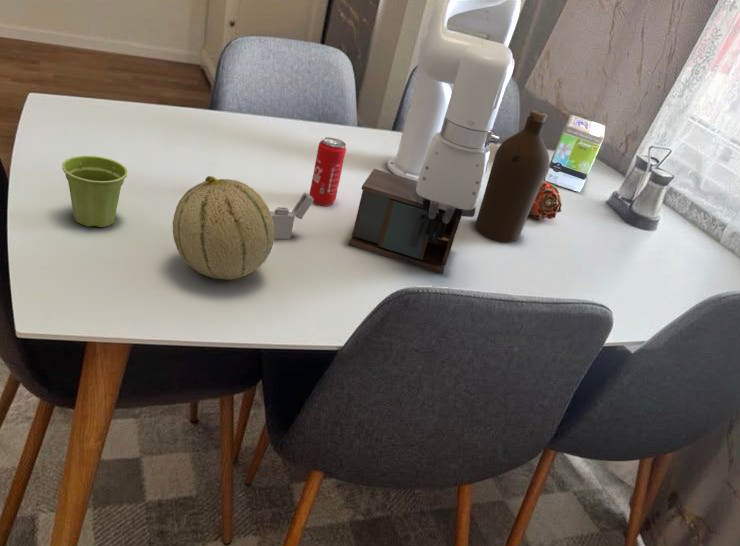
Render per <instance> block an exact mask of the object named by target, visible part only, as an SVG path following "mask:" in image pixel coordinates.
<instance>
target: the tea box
mask: <svg viewBox="0 0 740 546" xmlns="http://www.w3.org/2000/svg"><path fill="white" fill-rule="evenodd" d="M605 131H606V125H604V124H601V123H598V122H595V121H592V120H589V119H586V118H583V117H581V116H577V115H573V114H569V116H568V118H567V120H566V123H565V125H564V127H563V129H562V132H561V134H560V137H559V140H558V142H557V145H556V147H555V149H554V152H553V154H552V157H551V160H550V161H549V167H548V171H547V173H546V175H545V178H544V181H546V182H549V183H550V184H552V185H555V186H559V187H561V188H565V189H568V190H571V191H574V192H578V193H580V192H581V191H582V189H583V187H584V184H585V182H586V180H587V178H588V175H589V174H590V171H591V169H592V167H593V164H594V162H595V160H596V157H597V155H598V153H599V150H600V148H601V145H602V143H603V142H604V138H605Z"/></svg>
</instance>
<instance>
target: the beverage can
mask: <svg viewBox="0 0 740 546" xmlns="http://www.w3.org/2000/svg"><path fill="white" fill-rule="evenodd" d="M346 145H347V144H346V142H344V141H342V140H341V139H338V138H335V137H329V136H327V137H322V138H321V139H320V141H319V142H318V147H317V153H316V158H315V163H314V168H313V173H312V179H311V183H310V184H311V185H310V188H309V189H310V190H309V195H310V196H312V198H313V199H314V201H313V203H314V204H315V205H318V206H322V207H331V206H332V205H333V204H334V202H335V201H336V199H337V194H338V190H339V185H340V180H341V175H342V171H343V166H344V161H345V158H346V157H345V156H346V152H347V147H346ZM313 203H312V204H313Z"/></svg>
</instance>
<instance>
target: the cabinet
mask: <svg viewBox="0 0 740 546" xmlns="http://www.w3.org/2000/svg"><path fill="white" fill-rule="evenodd" d="M417 182H418V181H415V180H411V179H408V178H405V177H401V176H398V175H396V174H394V173H392V172H388V171H384V170H382V169H379V168H373V170H372V171H371V172H370V174H369V175H368V176H367V178H366V179H365V181H364V182H363V184H362V186H361V190H362V192H361V196H360V200H359V204H358V209H357V212H356V217H355V222H354V226H353V229H352V235H351V237H350V239H349V241H348V246H351V247H354V248H357V249H361V250H363V251H367V252H370V253H373V254H377V255H380V256H383V257H387V258H388V259H389V258H390V259H393V260H396V261H399V262H402V263H406V264H408V265H412V266H414V267H418V268H422V269H425V270H428V271H431V272H435V273H438V274H441V275H444V272H445V270H446V265H447V263H448V259H449V257H450V253H451V251H452V247H453V244H454V241H455V238H456V235H457V231H458V229H459V226H460V223H461V219H462V217H463V216H459V217H457V218H455V219H453V220H451V221H450V222H449V223H447V225H446V228H445V232H444V235H443V238H442V239H441V238H438V240H437V243H436V244H434V242H433V239H434V236H433V239H432V242H431V241H430V242H428V243H427V246H426V249H425V253H424V256H423V259H422V260H420V259H418V258H414V257H411V256H408V255H405V254H401V253H398V252H395V251H392V250H388V249H385V248H382V247H378V244H379V241H380V237H381V233H382V229H383V225H384V221H385V217H386V213H387V210H388V206H389V202H390V199H394V200H397V201H400V202H403V203H407V204H410V205H413V206H417V207H420V208H423V209H425V207H424V205H423V204H420V203H418V202H417V201H415V200H413V199H412V195H413V193H414V191H415V189H416V187H417ZM447 207H448V205H445V204H442V203H439V208H438V212H439V219H440V217H442V214H444V213H445V211H446V209H447ZM438 222H439V220H438ZM437 225H438V223H437ZM436 229H437V226H436ZM435 232H436V230H435ZM434 235H435V233H434Z"/></svg>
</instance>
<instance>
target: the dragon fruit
mask: <svg viewBox="0 0 740 546" xmlns="http://www.w3.org/2000/svg"><path fill="white" fill-rule="evenodd" d="M562 202H563V201H562V197H561V195H560V192H559V190H558V188H557V185H556V184H553V183H550V182H548V181H545V179H544V180H543V182H542V184H541V187H540V189H539V191H538V193H537V196H536V198H535V200H534V203H533V205H532V207H531V210H530V212H529V214H528V215H533V217H534V218H535V219H538V220H541V221H542V220H544V219H549V220H552V219H555V218H556V215H557V214H558V213H561V212H562V205H563V204H562Z"/></svg>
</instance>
